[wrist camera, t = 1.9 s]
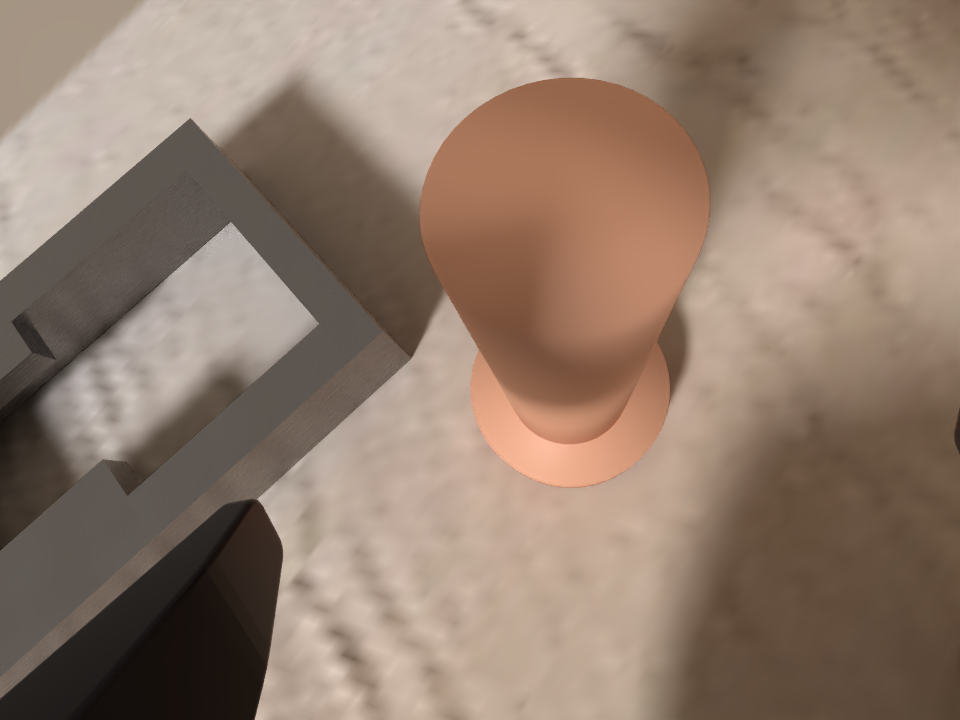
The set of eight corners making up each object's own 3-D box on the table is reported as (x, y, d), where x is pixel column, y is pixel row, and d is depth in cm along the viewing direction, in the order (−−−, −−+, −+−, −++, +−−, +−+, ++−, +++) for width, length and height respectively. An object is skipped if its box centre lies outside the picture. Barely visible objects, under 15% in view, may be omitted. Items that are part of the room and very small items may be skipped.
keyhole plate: (240, 169, 24) (190, 118, 21) (411, 358, 21) (382, 331, 18) (-123, 485, 23) (-233, 480, 20) (4, 728, 20) (-101, 767, 17)
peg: (664, 492, 19) (838, 452, 7) (473, 483, 20) (306, 432, 7) (661, 307, 20) (799, -15, 8) (482, 307, 21) (354, 17, 9)
